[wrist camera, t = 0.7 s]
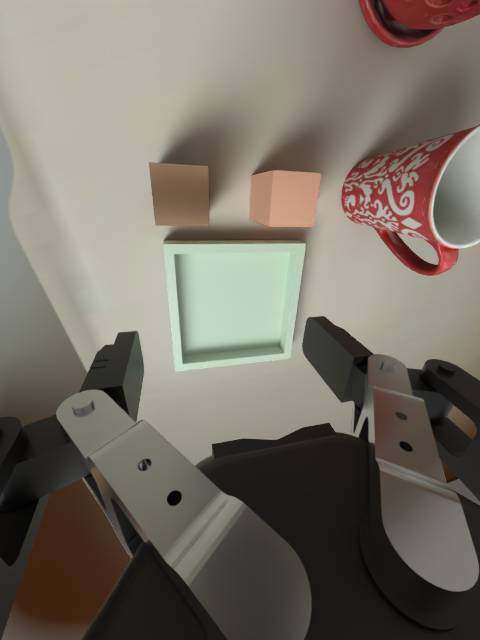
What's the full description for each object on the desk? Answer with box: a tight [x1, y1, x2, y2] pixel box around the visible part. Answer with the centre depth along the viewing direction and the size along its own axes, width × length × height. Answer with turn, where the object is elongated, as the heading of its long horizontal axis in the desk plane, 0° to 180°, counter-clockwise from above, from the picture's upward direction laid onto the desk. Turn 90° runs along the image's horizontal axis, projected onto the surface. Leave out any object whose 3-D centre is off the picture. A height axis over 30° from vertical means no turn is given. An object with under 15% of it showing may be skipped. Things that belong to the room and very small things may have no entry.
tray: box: [163, 240, 306, 371], centre depth 32 cm, size 16×16×3 cm
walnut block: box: [149, 162, 209, 226], centre depth 24 cm, size 4×4×7 cm
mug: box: [341, 124, 480, 276], centre depth 26 cm, size 13×9×14 cm
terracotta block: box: [249, 170, 321, 227], centre depth 26 cm, size 4×4×7 cm
